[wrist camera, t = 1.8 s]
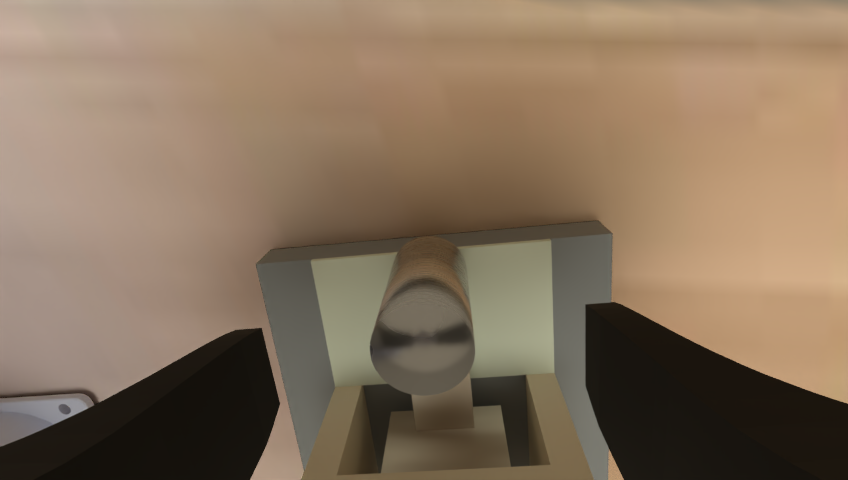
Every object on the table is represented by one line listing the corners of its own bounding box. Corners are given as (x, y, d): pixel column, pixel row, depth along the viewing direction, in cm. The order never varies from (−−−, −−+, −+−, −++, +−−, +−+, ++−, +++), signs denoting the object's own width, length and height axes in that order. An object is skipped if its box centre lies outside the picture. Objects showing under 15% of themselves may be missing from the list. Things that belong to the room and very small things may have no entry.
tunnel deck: (337, 546, 22) (293, 731, 16) (271, 249, 18) (172, 343, 11) (595, 537, 21) (658, 728, 15) (598, 220, 17) (691, 305, 10)
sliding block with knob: (404, 496, 19) (389, 638, 14) (364, 239, 15) (326, 310, 10) (506, 491, 18) (527, 635, 13) (488, 228, 15) (508, 296, 10)
